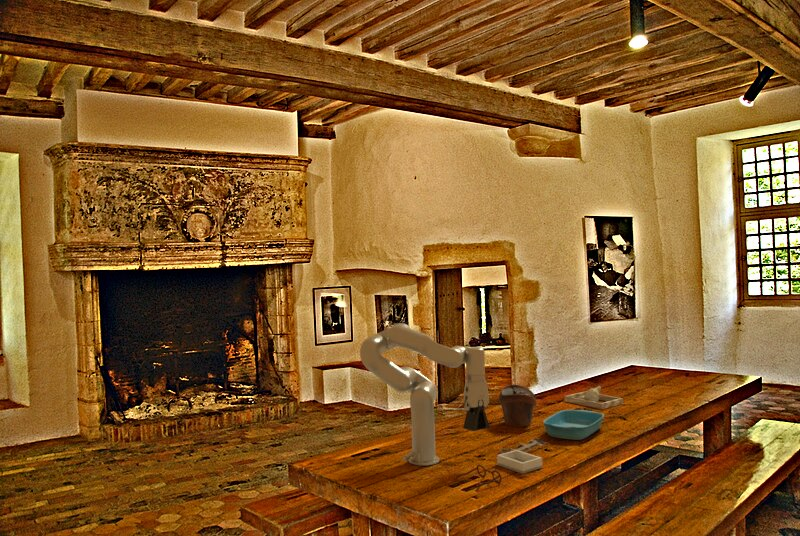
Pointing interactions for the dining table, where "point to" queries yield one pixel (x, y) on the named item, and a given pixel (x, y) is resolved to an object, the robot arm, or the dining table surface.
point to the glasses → (482, 475)
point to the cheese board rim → (610, 401)
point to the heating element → (526, 446)
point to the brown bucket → (517, 405)
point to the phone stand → (476, 419)
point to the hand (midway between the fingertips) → (476, 422)
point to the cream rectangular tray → (519, 461)
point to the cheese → (592, 394)
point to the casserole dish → (573, 424)
